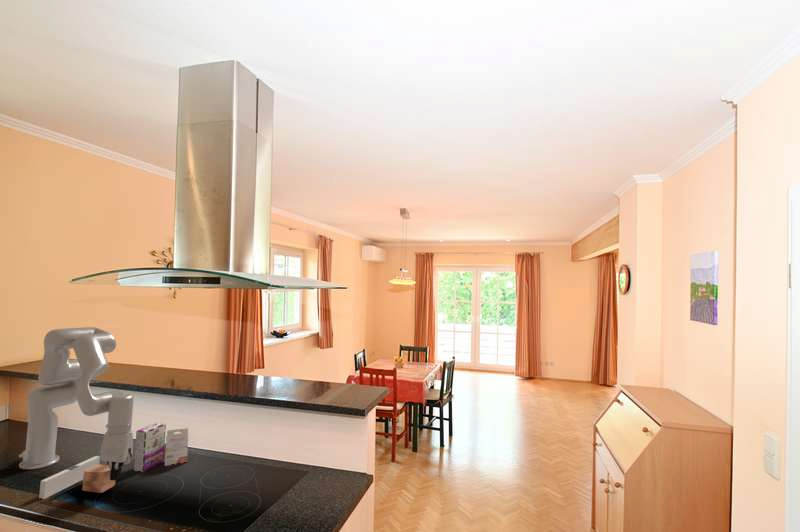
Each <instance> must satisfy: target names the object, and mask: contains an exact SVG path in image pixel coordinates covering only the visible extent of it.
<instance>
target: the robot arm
mask: <svg viewBox="0 0 800 532" xmlns="http://www.w3.org/2000/svg"><path fill="white" fill-rule="evenodd" d="M116 347H117V341H116V338H115V336H114V335H113V334H112V333H110V332H108V331H106V330H104V329H101V328H99V327H95V326H94V327H93V326H90V327H89V326H87V327H70V328H69V327H68V328H57V329H55V328H54V329H52V330H50V331H48V332H47V333H46V334H45V335H44V339H43V349H44V353H43V357H42V361H41V364H40V365H41V366H40V368H39V372H38V379H37V380H38V384H40V385H41V387H38V388H37V387H36V388H35V389H33V390H32V391H30V392H28V395H27V399H26V403H27V408H28V409H27V410H28V411H27V412H28V422H27V432H26V433H27V434H26V443H25V450H23V451H22V453H20V454H19V455H18V458H21V459H22V461H20V462H19V464H18V468H19V469H22V470H36V469H43V468H45V467H49V466H52V465H54V464H56V463H58V462H59V461H60V456H59V455H57V454H56V446H57V445H56V444H57V435H58V426H59V418H58V415H57V414H56V412H55V411H54V410H53V409H56V408H60V407H65V406H68V405H72V404H75V403H76V402H77V404H78V407H79V409H80V411H81V412H82V414H83V415H85V416H87V417H93V416H98V415H102V414H105V413H107V414H108V415H107V417H108V418H107V424H106V425H105V428H106V432H105V433H104V435H103V438H102V440H101V446H100V452H99V457H100V461H103V462H104V463H107V465H108V466H109V469H111V471H110V480H113V481H114V480H115V481H117V480H118V479H120V478H121V475H122V467H124V466H125V465H128V464H130V463H131V462H132V461H131V459H132V457H133V454H134V453H133V452H134V436H133V431H132V425H133V424H132V422H133V410H134V396H133V395H132V394H130V393H125V392H124V391H121V390H119V389H116V390H111V391H106V392H101V393H96V394H92V391H91V388H90V383H91V380H93V379H94V378H95V379H96V378H97V377H98V376H100V375H102V374H103V373H105V372H106V371H108V369H109V367H110V366H109V362H108V360H107V358H106V355H105V354H109V353H112V352H114V351H115V349H116ZM71 349H73V352H74V353H75V357H76V359H70V357H71Z"/></svg>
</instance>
